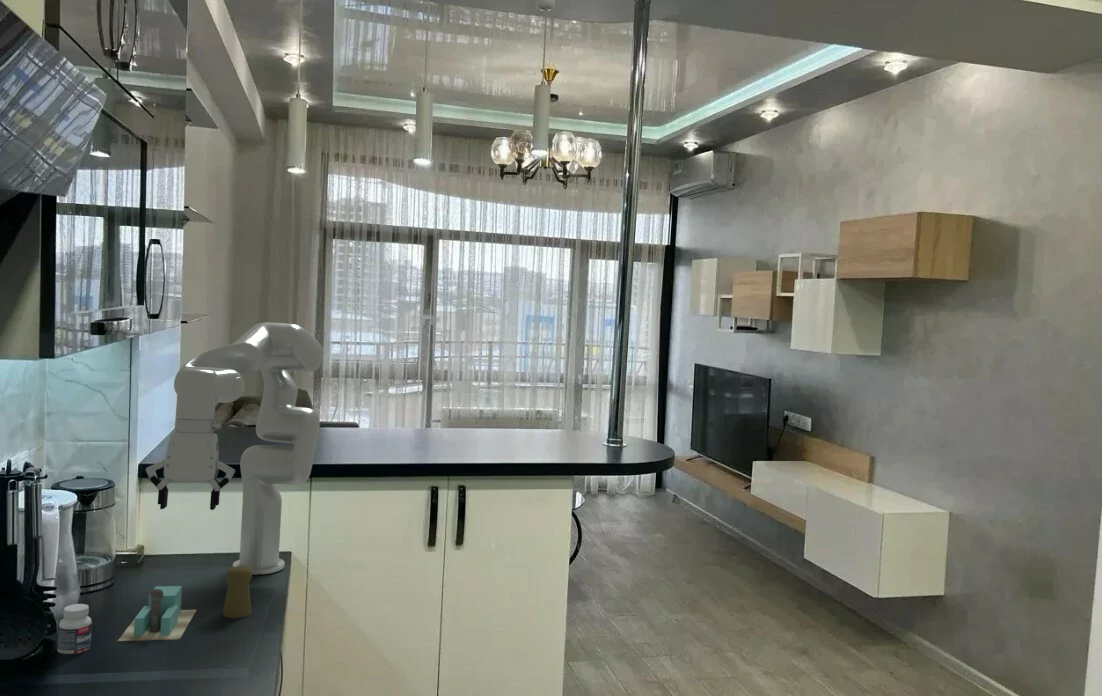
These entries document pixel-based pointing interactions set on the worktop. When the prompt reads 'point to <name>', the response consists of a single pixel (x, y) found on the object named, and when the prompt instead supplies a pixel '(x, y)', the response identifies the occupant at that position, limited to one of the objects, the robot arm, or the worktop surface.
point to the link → (168, 611)
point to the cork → (237, 592)
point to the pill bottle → (74, 630)
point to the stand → (155, 624)
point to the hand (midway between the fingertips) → (188, 508)
